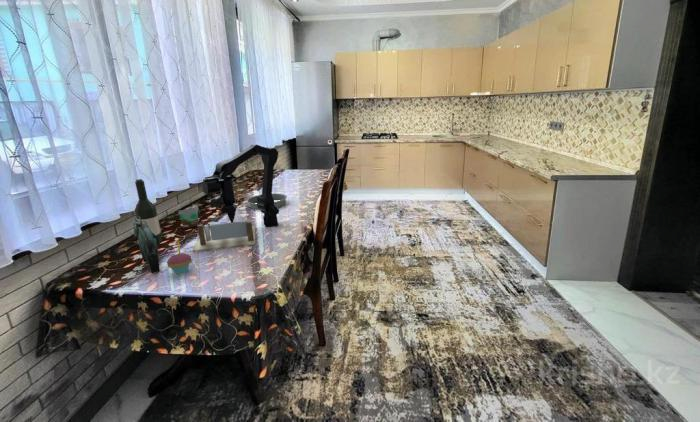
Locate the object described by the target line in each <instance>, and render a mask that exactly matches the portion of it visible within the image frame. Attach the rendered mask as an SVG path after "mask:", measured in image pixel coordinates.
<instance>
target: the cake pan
mask: <svg viewBox="0 0 700 422" xmlns="http://www.w3.org/2000/svg"><path fill="white" fill-rule="evenodd" d="M260 196H261V194H258V195H254V196H251V197H249V198H248V199H246V203H248V205H249V208H250V209H253V210H257V209H258V210H259V211H261V210H260V209H259V208H258V205H257V204H255V203H257V197H260ZM272 196H273V199H274V200H280V201H277V202H274V206H275V207H278V208H280V206H281V207H283V206H284V205H285V204H286V199H287V198H288V196H287V195H285V194H283V193H272ZM282 205H283V206H282Z"/></svg>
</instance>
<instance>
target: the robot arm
mask: <svg viewBox="0 0 700 422" xmlns="http://www.w3.org/2000/svg"><path fill="white" fill-rule="evenodd" d="M255 155H258V156H261V161H262V163H263V171H262V173H263V174H262V175H263V176H262V185H261V186H262V188H261V189H262V190H261V194H260V195H261V196H260V197H257V205H258V208H259V209H260V210H259V211H260V212H261V213H262V214H263V216H262V217H263V219H262V220H263V225H264V227H265V228H268V227H276V226H279V222H278V214H280V209H279V207H278V208H277V207H275V206H274V199H273V196H272V194H273V184H274V182H273V181H274V169H275V168H274V167H275V165H276V163H277V162H278V159H279V158H278V157H279V151H278V150H277V149H276V148H275V147H265V146H261V145H259V144H254V143H253V144H251V145H250V146H248V147H247V148H245V149H244V150H242V151H241V152H239V153H237V154H236V155H234V156H232V157H231V158H227V159H224V160H222V161H219V162H218V163H216V165H215V169H214V171H213V173H212V175H211V177H210V178H209V177H208V178H203V179H202V183H201V184H202V185H201V189H202V192H203V193H204V195H211V194H214V193H219V192H220V194H219V195H218V196H215V197H213V198H210V199H209V200H208V203H209V206H210V207H211V208H213V209H214V208H215V207H217V206H219V205H221V207H220V213H221V214H226V215H227V216H228V218H229V219H228V220H229V222H235V216H236V213H237V212H236V211H237V208H238V205H235V204H238V198H237V197H236V196H235V189H234V182H233V181H234V180H237V176H235V175H234V174H233V173H234V172H235V171H236V170H237V169H238V167H239V166H240V165H242V164H243V163H245V162H246V161H248V160H249V159H251V158H252V157H254V156H255Z"/></svg>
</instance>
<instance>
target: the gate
mask: <svg viewBox="0 0 700 422" xmlns="http://www.w3.org/2000/svg"><path fill="white" fill-rule="evenodd" d="M246 221H247V220H241V221H233V222H230V221H229V222H223V223H212V224H205V225H204V224H203V228H204V232H205V235H206V241H211V237H212V241H213V240H221V239H229V238H238V237H246V236H247V228H246V223H245V222H246ZM210 231H211V236H210Z"/></svg>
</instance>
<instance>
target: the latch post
mask: <svg viewBox="0 0 700 422" xmlns="http://www.w3.org/2000/svg"><path fill="white" fill-rule="evenodd" d="M245 221H246V222H245V223H246V228H247V236H248V241H254V237H253V229H252V226H253V223H252V222H253V221H252V219H248V220H245Z"/></svg>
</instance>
